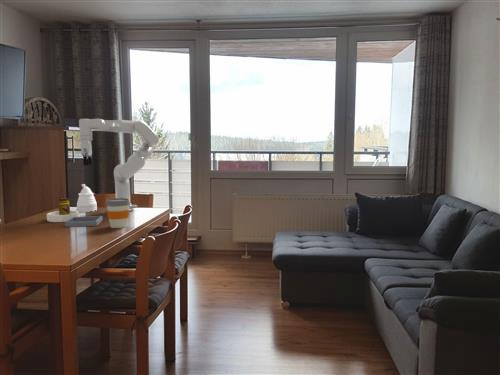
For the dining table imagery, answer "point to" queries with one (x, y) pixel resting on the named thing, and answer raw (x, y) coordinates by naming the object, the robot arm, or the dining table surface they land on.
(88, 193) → the honey pot
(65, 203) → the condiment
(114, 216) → the reusable coffee cup
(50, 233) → the dining table surface
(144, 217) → the dining table surface
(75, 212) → the bowl
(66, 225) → the square frame
